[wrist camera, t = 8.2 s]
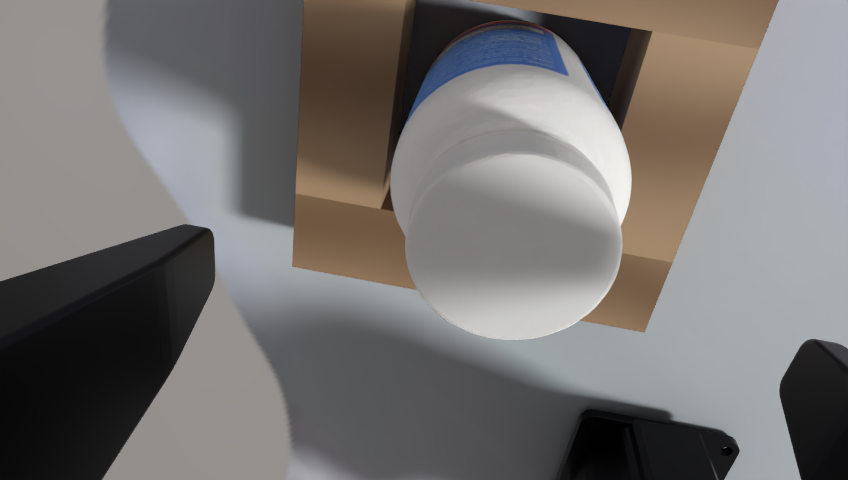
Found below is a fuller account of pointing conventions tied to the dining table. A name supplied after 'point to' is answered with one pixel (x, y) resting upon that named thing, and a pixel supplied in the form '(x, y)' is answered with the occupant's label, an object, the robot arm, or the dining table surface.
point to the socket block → (629, 105)
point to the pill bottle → (511, 184)
